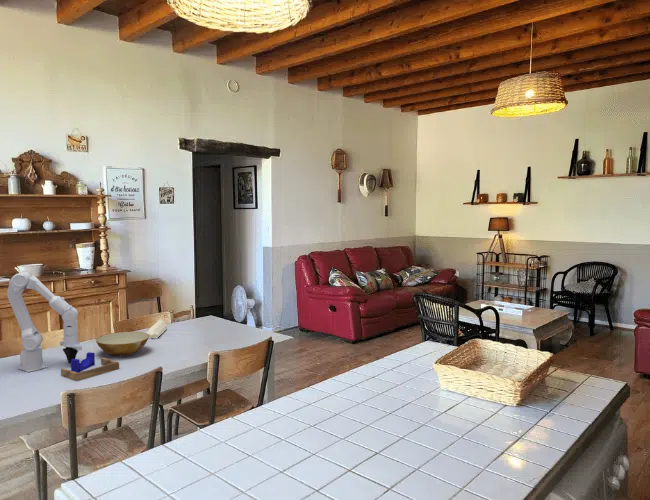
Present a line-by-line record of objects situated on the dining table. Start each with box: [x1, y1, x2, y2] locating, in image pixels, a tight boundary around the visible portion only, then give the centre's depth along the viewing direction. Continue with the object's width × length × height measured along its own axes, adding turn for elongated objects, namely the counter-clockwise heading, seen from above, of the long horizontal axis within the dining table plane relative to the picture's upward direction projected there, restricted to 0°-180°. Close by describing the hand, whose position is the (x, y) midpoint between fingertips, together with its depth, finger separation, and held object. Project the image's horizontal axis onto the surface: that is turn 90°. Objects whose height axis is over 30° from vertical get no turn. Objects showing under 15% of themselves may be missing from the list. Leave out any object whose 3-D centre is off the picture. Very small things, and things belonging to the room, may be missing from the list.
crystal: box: [146, 318, 167, 338], centre depth 283 cm, size 7×7×24 cm
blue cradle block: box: [70, 352, 96, 373], centre depth 220 cm, size 12×4×6 cm, turn 170°
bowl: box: [95, 331, 149, 357], centre depth 245 cm, size 25×25×8 cm
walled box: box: [60, 357, 120, 382], centre depth 216 cm, size 12×20×3 cm, turn 147°
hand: (71, 363), depth 224 cm, fingers closed
